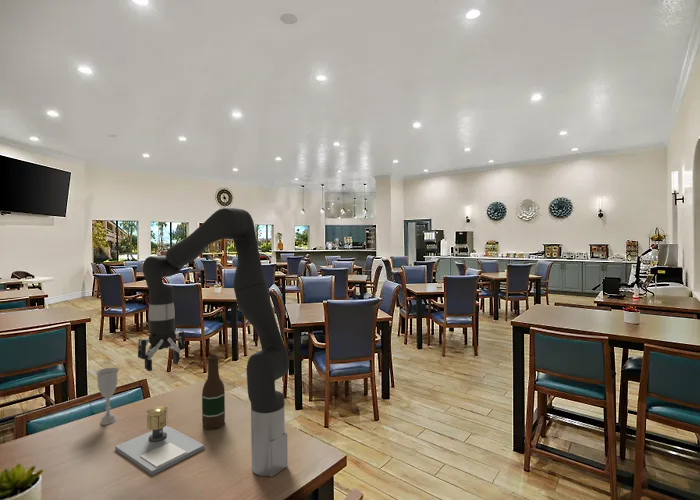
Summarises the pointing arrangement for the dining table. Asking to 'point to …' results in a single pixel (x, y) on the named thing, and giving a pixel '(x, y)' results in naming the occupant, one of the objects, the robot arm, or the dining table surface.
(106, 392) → the chalice
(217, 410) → the beer bottle
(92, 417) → the dining table surface
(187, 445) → the board
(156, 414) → the cap
